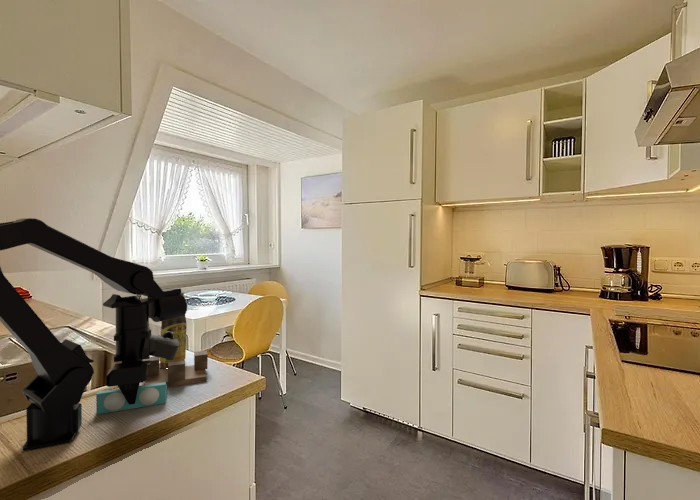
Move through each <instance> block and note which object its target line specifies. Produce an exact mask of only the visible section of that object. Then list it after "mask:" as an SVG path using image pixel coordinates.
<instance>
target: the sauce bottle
mask: <svg viewBox="0 0 700 500" xmlns="http://www.w3.org/2000/svg"><path fill="white" fill-rule="evenodd" d="M181 294H182V295H183V296H184V292H183V291H181ZM186 318H187V317H186V314H185V315H184V316H183V317H180V318H175V319H170V320H165V321H161V326H160V336H161V335H162V334H163V333H164V332H166V331H170V332H173V336H174V339H177V340H178V341H179V347H178V350H177V352H176V355H175V357H174V360H166V359H165V358H160V357H159V368H161V369H166V368H168V362H176V361H185V362H186V352H187V351H186V350H187V349H186V348H187V325H188V323H187V319H186Z"/></svg>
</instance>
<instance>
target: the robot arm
mask: <svg viewBox="0 0 700 500" xmlns="http://www.w3.org/2000/svg"><path fill="white" fill-rule="evenodd" d="M24 245H30V246H32V247H33V248H36V249H38V250H41V251H43V252H44V253H48V254H49V255H51V256H54V257H57V258H59V259H61V260H63V261H65V262H67V263H70V264H72V265H74V266H76V267H79V268H81V269H83V270H86V271H88V272H90V273H92V274H94V275H95V276H97V278H99V279H100V280H101V281H102V282H104V283H105V284H106V285H108V286H109V287H111V288H113V289H114V290H116V291H117V292H122V293H127V294H132V295H129V296H121V295H120V294H116V293H112V294H111V296H110V297H109V298H108V299H107V300H105V302H103V304H102V306H103V307H106V308H109V309H115V333H114V335H113V341H114V342H115V354H114V356H113V363H114V365H112V366H111V367H110V369H108V372H107V374H106V375H105V378H106V379H105V381H106V382H105V385H106V387H110V388H111V387H118V389H120V390H121V392H122V394H123V395H124V397H125V399H126V400H127V402H128V404H135V402H136V397H137V392H138V388H139V386H140V384H141V383H145V382H146V379H147V374H148V371H149V369H148V367H149V366H150V362H151V361H150V360H148V361H145V359H149V358H150V357H153V356H155V357H159V359H160V358H165V359H166V360H174V357H175V355H176V352H177V350H178V347H179V341H178V340H177V339H174V336H173V332H170V331H166V332H164V333H163V334H162V335H161V334H158V335H155V334H152V329H151V327H150V321H149V320H150V319H151V320H152V321H153V322H155V323H158V322H162V321H165V320H170V319H175V318H180V317H183V316H184V315H185V316H186V314H187V312H188V311H187V310H188V303H187V301H186V298H185V295H184V294H183V295H182V294H181V292H182V288H181V287H170V288H168V289H162V288H161V287H160V286H159V284H158V283H157V282H156V280H155V279H154V272H153V270H152V269H150V268H149V267H147V266H145V265H141V264H139V263H134V262H132V261H127V260H125V259H120V258H118V257H117V258H116V257H114V256H110V255H108V254H106V253H104V252H102V251H101V250H98V249H96V248H95V247H92V246H90V245H88V244H87V243H84V242H82V241H80V240H78V239H76V238H74V237H72V236H70V235H68V234H66V233H63V232H61V231H60V230H58V229H56V228H54V227H52V226H50V225H48V224H46V223H45V221H43V220H41V219H38V218H31V217H29V218H25V217H24V218H18V219H16V220H13V221H7V222H0V251H5V250H8V249H12V248H16V247H21V246H24ZM137 295H138V296H144V297H146V298H139V297H138V296H137ZM0 322H1V324H2V325H3V326H4V328H6V329H7V331H8V332H9V333H10V334H11V335H12V336H13V337H14V338H15V339H16V340H17V342H18V343H19V344H20V345H21V346H22V347H23V348H24V349H25V351H26V352H28V354H29V357H30V360H31V364H32V366H33V368H34V370H35V372H36V373H37V375H36V376H35V377H34V378H33V379H32V380H31V381H30V382H29V383H28V384H27V385H26V386H25V387H24V388H23V389H22V390H21V391H22V394H23V395H24V397H25V399H26V400H27V401H29V402H31V403H30V404H29V405H28V406H27V408H26V441H25V442H24V444H23V445H22V447H21V449H22V451H26V450H27V451H29V450H33V449H38V448H43V447H44V448H45V447H50V446H54V445H60V444H66V443H70V442H72V441H73V439H74V438H75V436H76V434H77V433H78V432H79V431H80V429H81V427H82V423H83V421H82V418H83V417H82V412H83V410H82V403H81V399H82V397H83V394H84V392H85V389H86V387H87V386H88V385H90V382H91V381H92V379H93V375H94V374H95V369H94V367H93V366H92V363H94V362H95V360H94V359H91V358H90V357H88V356H87V354H86V352H85V350H84V348H83V347H82V346H81V344H79V343H78V342H77V343H76V342H75V341H72V340H69V339H67V338H66V339H64V340H63V341H62V342H61V341H59V340H58V338H57V337H56V336H55V335H54V333H53V332H52V331H51V330H50V328H49V327H48V326H47V325H46V324H45V322H44V321H43V320H42V319H41V318H40V317H39V315H38V313H36V312H35V311H34V310H33V308H32V307H31V306H30V305H29V303H28V302H27V301H26V300H25V298H24V297H22V295H21V294H20V293H19V291H17V290H16V288H15V287H14V286H13V284H12V283H11V282H10V281H9V280H8V278H6V276H5V274H4V273H3V270H2V267H1V266H0ZM116 362H118V363H116ZM119 362H120V363H119Z"/></svg>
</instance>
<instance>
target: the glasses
mask: <svg viewBox="0 0 700 500" xmlns="http://www.w3.org/2000/svg"><path fill="white" fill-rule="evenodd" d="M167 391H168V387H167V384H166V382H163V383H156V384H149V385H145V384H143V385H139V388H138V392H137V397H136V402H135V404H128V402H127V400H126V399H125V397H124V395H123V394H122V392H121V390H120V389H119V388H115V389H108V390H100V391H97V393H96V402H95V403H96V406H95V407H96V410H95V411H96V415H101V414H106V413H107V414H109V413H112V412H119V411H124V410H131V409H139V408H143V407H151V406H156V405H162V404H166V403H167V395H168V393H167Z"/></svg>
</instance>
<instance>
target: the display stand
mask: <svg viewBox="0 0 700 500" xmlns="http://www.w3.org/2000/svg"><path fill="white" fill-rule="evenodd" d="M193 352H194V356H193V360H194V361H193V365H186V360H185V361H176V362H168V369H163V368H161V369H160V357H155V356H150V358H149V359H144V361H148V360H150V361H151V362H150V366H149V367H148V369H149V371H148V374H147V379H146V381H144V385H149V384H156V383H163V382H166V384H167V388H169V387H175V386H183V385H189V384H190V385H191V384H196V383H205V382H207V379H208V377H207V371H206V370H208V358H209V357H208V354H209V353H208V351H207V350H200V351H193Z"/></svg>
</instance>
